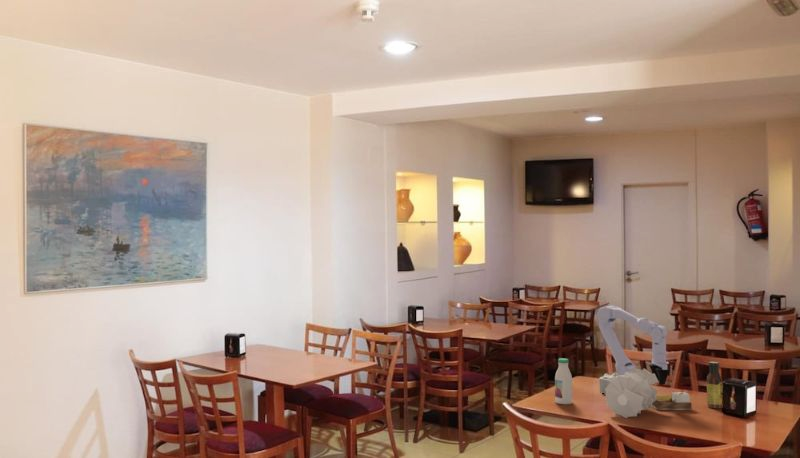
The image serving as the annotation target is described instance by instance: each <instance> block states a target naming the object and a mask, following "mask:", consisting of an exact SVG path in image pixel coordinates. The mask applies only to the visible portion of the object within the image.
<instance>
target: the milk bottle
mask: <svg viewBox="0 0 800 458" xmlns="http://www.w3.org/2000/svg"><path fill="white" fill-rule="evenodd" d="M557 361H558V363H557V364H558V368H557V370H556V372H555V376H554V402H555V403H556V404H558V405H559V404H560V405H571V404H572V403H573V377H572V373H571V371H570V368H569V362H570V361H569V358H563V357H559V358H558V360H557Z"/></svg>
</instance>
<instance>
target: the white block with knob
mask: <svg viewBox="0 0 800 458" xmlns="http://www.w3.org/2000/svg"><path fill="white" fill-rule="evenodd" d="M671 395H672V400H673V401H674V402H675V403H691V402H690V401H691V399H690V394H689V393H688V392H687V391H686V392H685V391H683V392H681V391H672V392H671Z"/></svg>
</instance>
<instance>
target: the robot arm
mask: <svg viewBox="0 0 800 458" xmlns="http://www.w3.org/2000/svg"><path fill="white" fill-rule="evenodd" d="M596 316H597V319H598V328H599V330H600V333H601V335H602V336H603V339H604V341H605V343H606V345H607V347H608V348H609V351H610V353H611V355H612V357H613V359H614V361H615V366H614V368H615V371H616V374H617V376H618V375H624V374H625V372H626V373H627V371H628V372H630V371H633V368H634V369H638V367H637V366H636V365H635V364H634V363H633V362H632V360H631V359H630V358H628V357H627V355H626V353H625V351H624V349H623V347H622V345H621V343H620V341H619V338H618V337H617V335H616V333H615V331H614V329H613V327H612V326H613V325H614V321H616V319H622V320H624V321H626V322H628V323H631V324H633V325H635V326H636V329H638V330H639V331H642V332H644V333H645V334H647V335H650V338H651V340H652V341H651V344H652V346H651V348H652V352H651V353H652V355H651V356H652V359H651V364H648V368H649V369H650V371H651V374H654V373H655V375H656V377H657V379H658V381H659V382H658V383H659V385H660V386H663V385H664V386H666V383H667V379H668V375H669V373H670V372H671V369H668V365H669V363H670V362H669V361H667V338H666V337H668V335H669V330H668V328H667V327H666V326H665V325H664V324H658V322H654V321H651V320H649V318H647V317H639V318H638V317H637V316H635V315H633V314H632V313H630V312H627V311H626V310H624V309H623V308H621V307H619V306H616V305H613V304H611V305H608V306H601V307H600V308H599V309H598V312H597V314H596Z"/></svg>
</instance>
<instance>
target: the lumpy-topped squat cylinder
mask: <svg viewBox="0 0 800 458" xmlns="http://www.w3.org/2000/svg"><path fill="white" fill-rule="evenodd" d="M616 376H617V373H612V374H609V373H604V374H603V375H602V376H600V377H599V394H601V393H604V394H603V395H606V391H605V389H606V387H607V386H608V385H609V383H610V382H609V380H612V379H615V378H616Z"/></svg>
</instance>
